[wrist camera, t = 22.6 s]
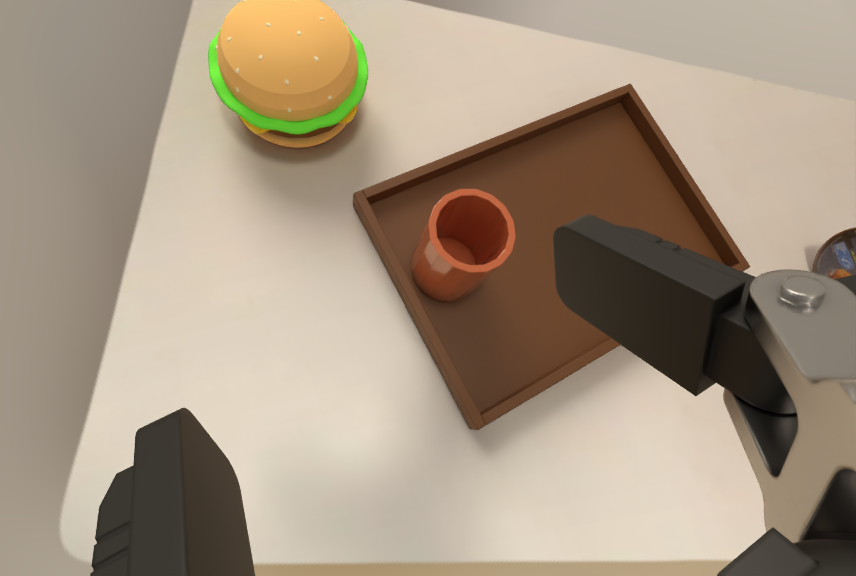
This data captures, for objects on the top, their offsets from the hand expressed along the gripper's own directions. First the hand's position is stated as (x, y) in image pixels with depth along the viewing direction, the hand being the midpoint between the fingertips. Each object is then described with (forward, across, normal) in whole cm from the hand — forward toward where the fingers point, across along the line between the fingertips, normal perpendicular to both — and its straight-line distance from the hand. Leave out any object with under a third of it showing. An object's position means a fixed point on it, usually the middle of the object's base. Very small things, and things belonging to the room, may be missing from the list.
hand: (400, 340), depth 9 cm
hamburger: (+36, -6, +2) cm, 37 cm away
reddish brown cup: (+22, -11, +14) cm, 29 cm away
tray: (+21, -21, +16) cm, 34 cm away
